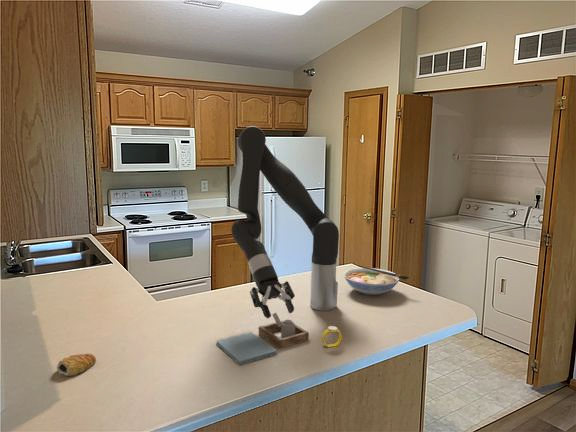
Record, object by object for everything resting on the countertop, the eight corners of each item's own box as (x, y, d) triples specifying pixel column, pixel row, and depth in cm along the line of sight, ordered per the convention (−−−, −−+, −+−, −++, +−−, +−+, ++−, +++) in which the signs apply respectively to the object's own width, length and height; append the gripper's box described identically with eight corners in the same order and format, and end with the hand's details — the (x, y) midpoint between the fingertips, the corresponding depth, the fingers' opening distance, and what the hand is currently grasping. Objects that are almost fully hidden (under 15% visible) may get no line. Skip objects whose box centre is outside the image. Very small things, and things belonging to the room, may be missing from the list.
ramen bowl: (329, 290, 183) (330, 271, 182) (363, 279, 198) (364, 262, 197) (378, 307, 165) (379, 286, 163) (412, 294, 180) (413, 275, 179)
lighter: (293, 334, 140) (294, 310, 139) (294, 337, 138) (295, 313, 137) (271, 336, 138) (272, 312, 137) (272, 339, 137) (273, 314, 135)
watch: (338, 343, 135) (340, 325, 134) (342, 347, 132) (344, 329, 131) (320, 344, 133) (322, 326, 132) (323, 348, 130) (325, 329, 130)
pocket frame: (287, 326, 146) (287, 319, 146) (308, 339, 136) (308, 332, 136) (258, 333, 140) (258, 326, 140) (279, 348, 130) (279, 340, 130)
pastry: (86, 358, 123) (86, 345, 122) (102, 364, 120) (101, 351, 119) (54, 372, 115) (53, 359, 114) (70, 380, 112) (69, 366, 111)
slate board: (251, 334, 139) (251, 331, 139) (276, 353, 127) (276, 350, 127) (216, 343, 132) (216, 340, 132) (239, 364, 120) (239, 361, 120)
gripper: (247, 267, 139) (265, 313, 132) (285, 262, 147) (304, 305, 140) (239, 279, 144) (256, 324, 137) (276, 273, 152) (294, 315, 145)
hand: (280, 314), depth 138 cm, fingers open, 8 cm apart
